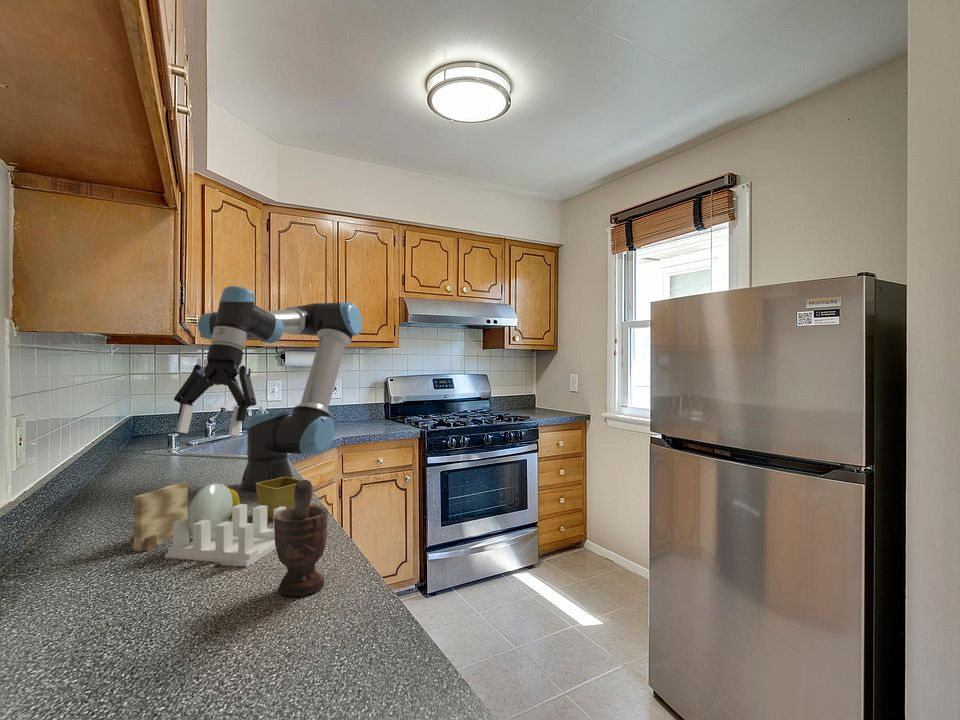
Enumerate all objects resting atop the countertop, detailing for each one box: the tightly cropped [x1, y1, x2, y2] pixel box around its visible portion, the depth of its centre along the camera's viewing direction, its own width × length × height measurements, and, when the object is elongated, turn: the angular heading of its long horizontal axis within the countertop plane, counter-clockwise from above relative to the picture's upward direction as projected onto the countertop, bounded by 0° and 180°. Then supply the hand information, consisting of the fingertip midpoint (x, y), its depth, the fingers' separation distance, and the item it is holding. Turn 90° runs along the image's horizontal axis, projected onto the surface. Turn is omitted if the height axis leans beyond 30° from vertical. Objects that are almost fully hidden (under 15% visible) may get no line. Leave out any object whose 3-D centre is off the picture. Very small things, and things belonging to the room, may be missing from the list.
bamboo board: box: [133, 481, 189, 552], centre depth 102 cm, size 12×2×11 cm, turn 170°
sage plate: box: [188, 482, 233, 538], centre depth 100 cm, size 11×1×11 cm, turn 170°
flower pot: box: [255, 477, 302, 520], centre depth 119 cm, size 9×9×9 cm
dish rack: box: [164, 503, 286, 568], centre depth 99 cm, size 15×18×7 cm
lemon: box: [228, 487, 241, 518], centre depth 117 cm, size 6×6×8 cm
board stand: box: [130, 528, 192, 552], centre depth 102 cm, size 11×4×3 cm, turn 170°
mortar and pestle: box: [273, 479, 329, 597], centre depth 80 cm, size 12×9×20 cm
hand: (207, 434), depth 111 cm, fingers open, 13 cm apart
